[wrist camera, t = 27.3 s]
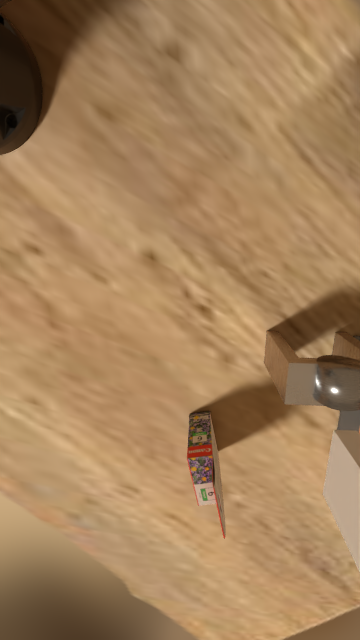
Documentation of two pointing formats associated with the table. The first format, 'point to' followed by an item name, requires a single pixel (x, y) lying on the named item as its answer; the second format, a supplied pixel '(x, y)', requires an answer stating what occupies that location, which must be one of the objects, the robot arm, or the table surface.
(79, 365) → the table surface
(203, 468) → the ink box
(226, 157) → the table surface
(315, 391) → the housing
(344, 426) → the mat
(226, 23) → the table surface
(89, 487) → the table surface
